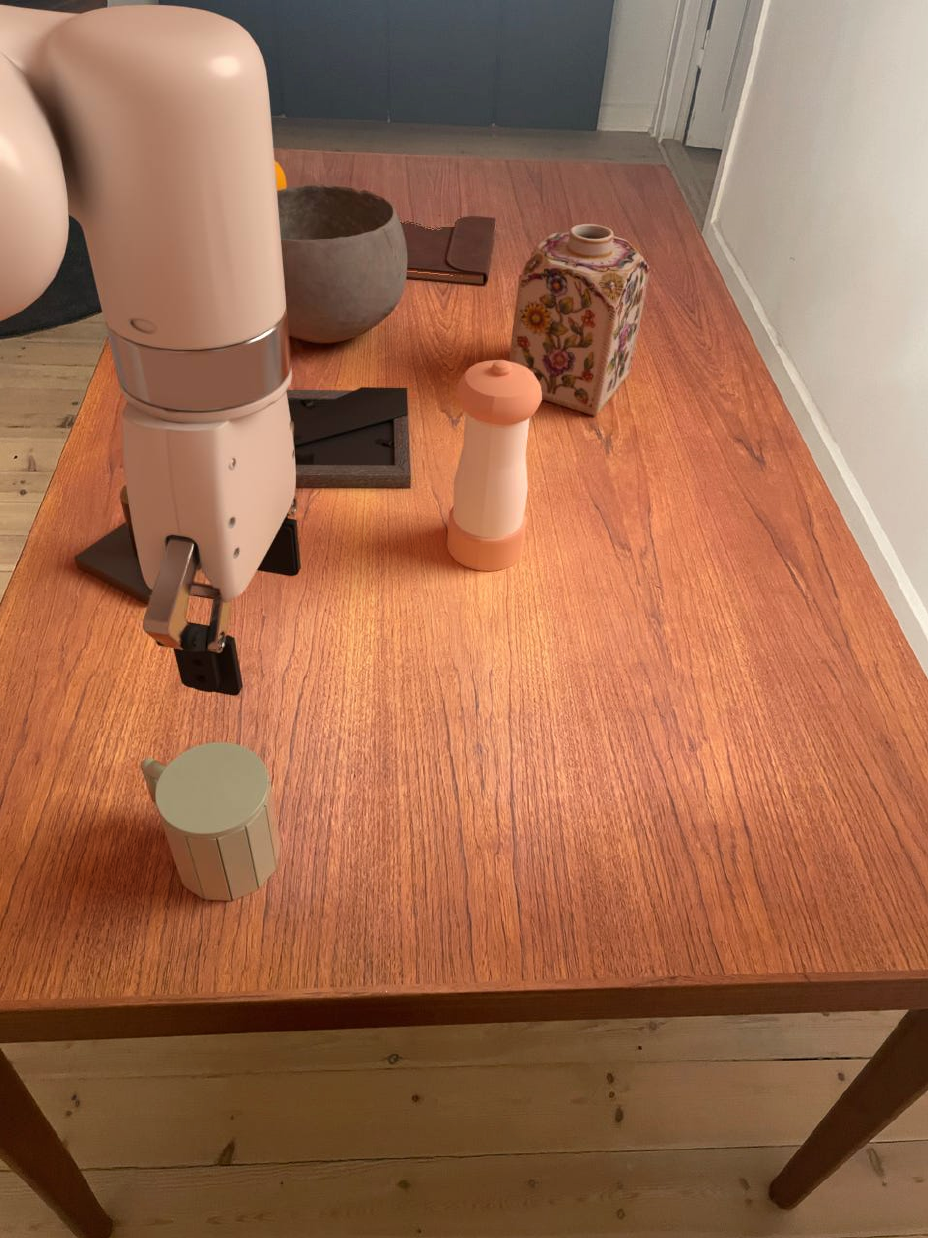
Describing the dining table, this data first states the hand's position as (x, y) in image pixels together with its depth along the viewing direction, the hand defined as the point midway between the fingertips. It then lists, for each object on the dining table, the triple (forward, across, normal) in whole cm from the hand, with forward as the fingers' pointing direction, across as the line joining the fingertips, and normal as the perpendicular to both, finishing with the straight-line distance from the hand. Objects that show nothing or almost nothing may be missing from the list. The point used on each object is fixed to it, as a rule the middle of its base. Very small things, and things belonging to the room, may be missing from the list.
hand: (245, 624), depth 52 cm
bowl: (+18, -69, -17) cm, 73 cm away
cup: (+18, +4, -3) cm, 19 cm away
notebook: (+18, -96, -8) cm, 98 cm away
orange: (+18, -104, -38) cm, 113 cm away
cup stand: (+18, -22, -19) cm, 35 cm away
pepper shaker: (+18, -32, +10) cm, 38 cm away
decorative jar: (+18, -64, +14) cm, 68 cm away
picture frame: (+18, -44, -11) cm, 49 cm away
